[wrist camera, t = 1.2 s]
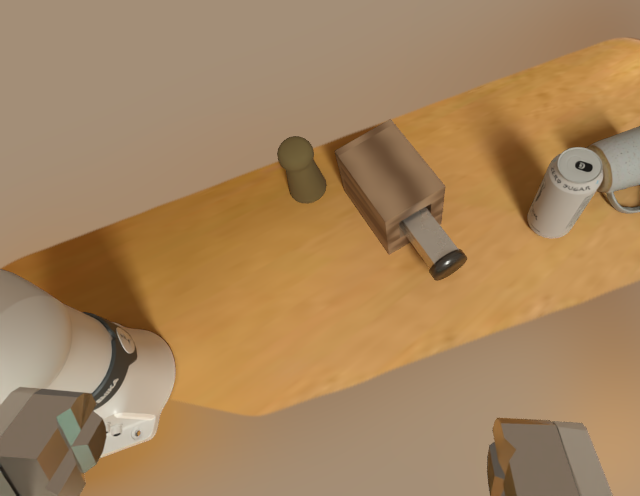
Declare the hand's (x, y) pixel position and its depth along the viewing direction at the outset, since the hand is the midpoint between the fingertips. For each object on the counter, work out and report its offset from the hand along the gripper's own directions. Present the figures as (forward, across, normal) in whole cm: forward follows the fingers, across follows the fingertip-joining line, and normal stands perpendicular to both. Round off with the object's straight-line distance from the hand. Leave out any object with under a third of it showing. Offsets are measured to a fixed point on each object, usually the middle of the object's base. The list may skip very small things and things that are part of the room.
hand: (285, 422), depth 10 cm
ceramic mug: (+64, +35, -25) cm, 77 cm away
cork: (+66, -10, -27) cm, 72 cm away
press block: (+62, +3, -28) cm, 68 cm away
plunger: (+54, +7, -29) cm, 62 cm away
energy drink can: (+59, +25, -29) cm, 71 cm away
